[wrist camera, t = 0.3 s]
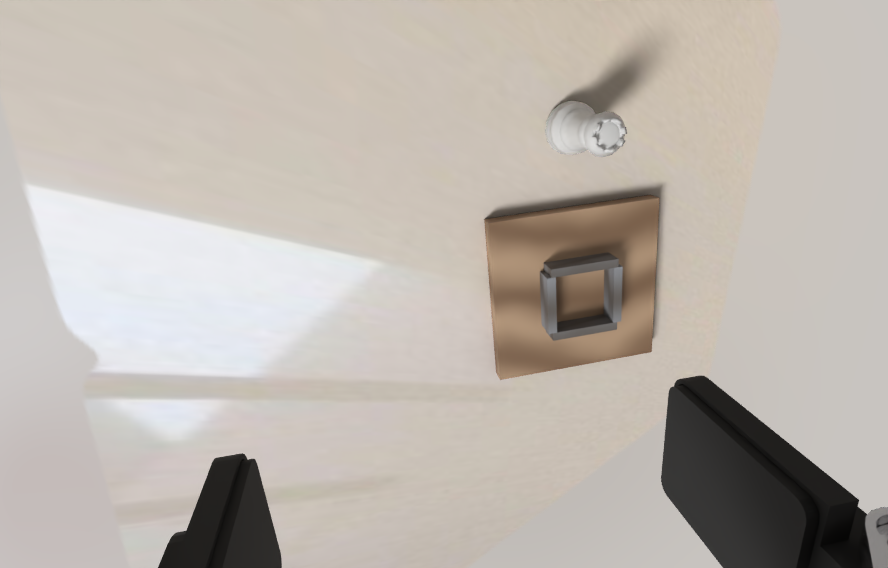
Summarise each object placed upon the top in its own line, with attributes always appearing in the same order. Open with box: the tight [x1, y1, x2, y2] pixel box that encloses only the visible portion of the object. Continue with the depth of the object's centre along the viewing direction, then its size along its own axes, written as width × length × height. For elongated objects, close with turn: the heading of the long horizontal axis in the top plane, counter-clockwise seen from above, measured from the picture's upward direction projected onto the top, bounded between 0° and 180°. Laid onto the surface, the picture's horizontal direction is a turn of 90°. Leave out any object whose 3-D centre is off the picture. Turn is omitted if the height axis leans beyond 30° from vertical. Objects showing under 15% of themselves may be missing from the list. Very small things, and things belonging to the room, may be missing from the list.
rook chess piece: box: [545, 101, 627, 157], centre depth 41 cm, size 4×4×8 cm
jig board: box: [484, 195, 659, 380], centre depth 49 cm, size 16×16×4 cm
